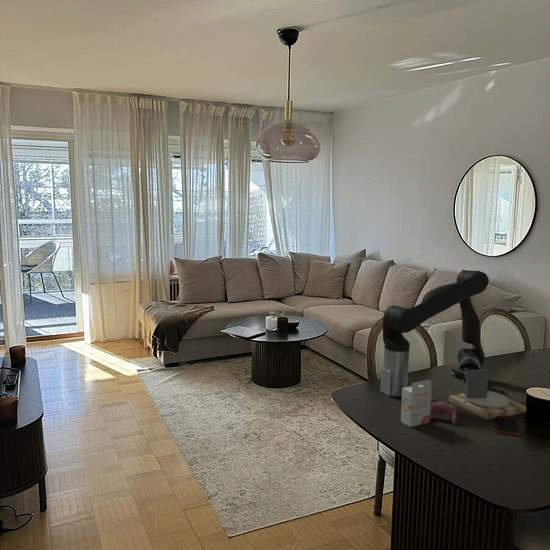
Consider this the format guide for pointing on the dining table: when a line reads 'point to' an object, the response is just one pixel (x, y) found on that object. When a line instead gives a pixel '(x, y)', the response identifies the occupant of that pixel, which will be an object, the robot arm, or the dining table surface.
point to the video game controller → (447, 408)
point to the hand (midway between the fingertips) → (467, 381)
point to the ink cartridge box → (416, 404)
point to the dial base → (487, 411)
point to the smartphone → (507, 426)
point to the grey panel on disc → (482, 390)
